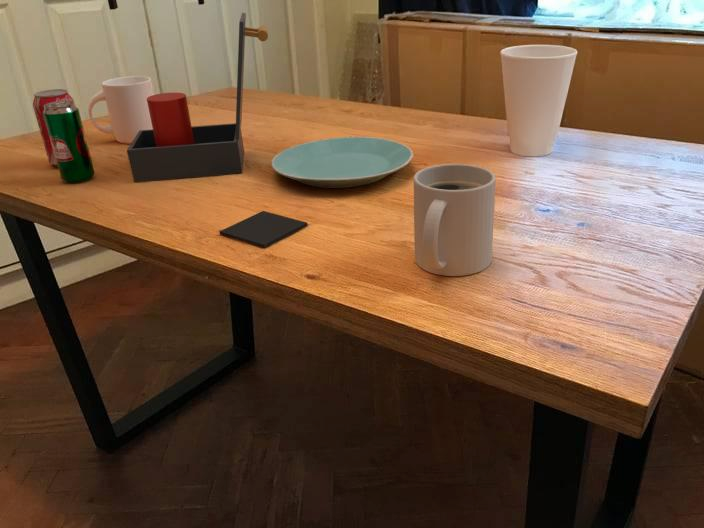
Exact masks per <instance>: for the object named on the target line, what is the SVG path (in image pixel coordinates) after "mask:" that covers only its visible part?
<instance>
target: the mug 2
mask: <svg viewBox="0 0 704 528" xmlns="http://www.w3.org/2000/svg"><path fill="white" fill-rule="evenodd" d="M496 179H497V178H496V175H495V173H494V172H493V171H491V170H490V169H487V168H485V167H484V166H483V167H482V166H479V165H474V164H469V163H468V164H467V163H443V164H436V165H431V166H428V167H424V168H422V169H420V170H419V171H417V172H416V173H414V176H413V227H414V228H413V230H414V232H413V233H414V235H413V236H414V261H415V263H416V265H417V266H418V267H419V268H420V269H422V270H423V271H425V272H427V273H431V274H434V275H438V276H444V277H463V276H470V275H474V274H477V273H480V272H482V271H484V270H486V269H487V268H488V267H489V266H490V265H491V263H492V261H493V246H494V245H493V244H494V243H493V241H494V222H495V203H496V184H497V183H496V182H497V181H496Z"/></svg>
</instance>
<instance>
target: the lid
mask: <svg viewBox="0 0 704 528" xmlns="http://www.w3.org/2000/svg"><path fill="white" fill-rule="evenodd" d="M246 20H247V13H246V12H241V15H240V18H239V22H238V23H239V24H238V48H237V50H238V51H237V75H236V76H237V77H236V79H237V80H236V81H237V82H236V104H235V105H236V108H235V123H236V133H235V139H239V137H240V130H241V131H242V121H243V98H244V97H243V96H244V95H243V94H244V71H245V47H246V43H245V42H246V37H252V38H257V39H258V40H259V41H260V42H266V41H267V40H268V38H269V29H268V28H267V27H266V26H264V25H261V26H259V27H258V28H256V27H247V26H246Z"/></svg>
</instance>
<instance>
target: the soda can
mask: <svg viewBox="0 0 704 528" xmlns="http://www.w3.org/2000/svg"><path fill="white" fill-rule="evenodd" d="M74 103H75V101H74V102H73V101H56V102H51V103H47V104H45V105H44V111H43V116H44V119H45V123H46V126H47V130H48V133H49V137H50V140H51V144H52V147H53V151H54V154H55V158H56V161H57V165H58V166H57V168H58V172H59V176H60V179H61V180H63V181H64V182H65V183H67V184H80V183H81V184H82V183H85V182H88V181H90V180H92V179H93V178H94V177H95V174H96V172H95V167H94V163H93V159H92V156H91V152H90V149H89V148H90V147H89V144H88V140H87V136H86V132H85V129H84V125H83V121H82V118H81V114H80V113H81V112H80V109H79V108H78V107H77V105H76V104H75V105H74Z"/></svg>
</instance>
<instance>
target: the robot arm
mask: <svg viewBox="0 0 704 528" xmlns="http://www.w3.org/2000/svg"><path fill="white" fill-rule="evenodd" d="M197 3H198V6H200V5H201V6H202V5H204V4H205V0H197ZM107 4H108V7H109V10H110V11H111V10H117V9H118V8H119V6H118V1H117V0H107Z"/></svg>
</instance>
